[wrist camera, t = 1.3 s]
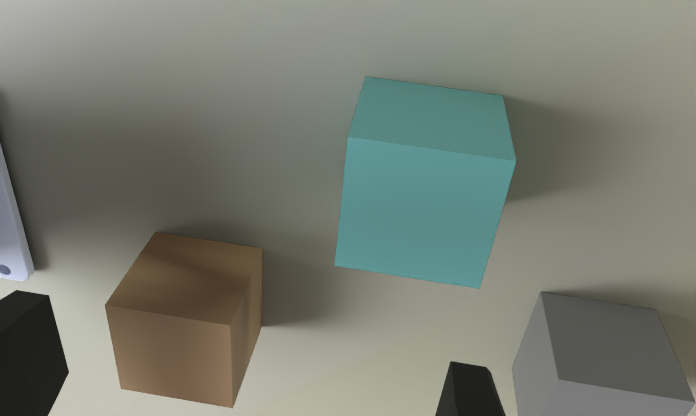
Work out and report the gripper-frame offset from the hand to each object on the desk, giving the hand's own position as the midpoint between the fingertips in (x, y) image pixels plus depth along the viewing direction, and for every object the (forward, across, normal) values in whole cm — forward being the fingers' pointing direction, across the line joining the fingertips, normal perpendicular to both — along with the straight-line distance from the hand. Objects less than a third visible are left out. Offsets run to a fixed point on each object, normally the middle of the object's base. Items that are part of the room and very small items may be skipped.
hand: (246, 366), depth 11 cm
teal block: (+10, -3, 0) cm, 10 cm away
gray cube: (+10, -10, +7) cm, 15 cm away
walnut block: (+10, +4, +7) cm, 12 cm away
